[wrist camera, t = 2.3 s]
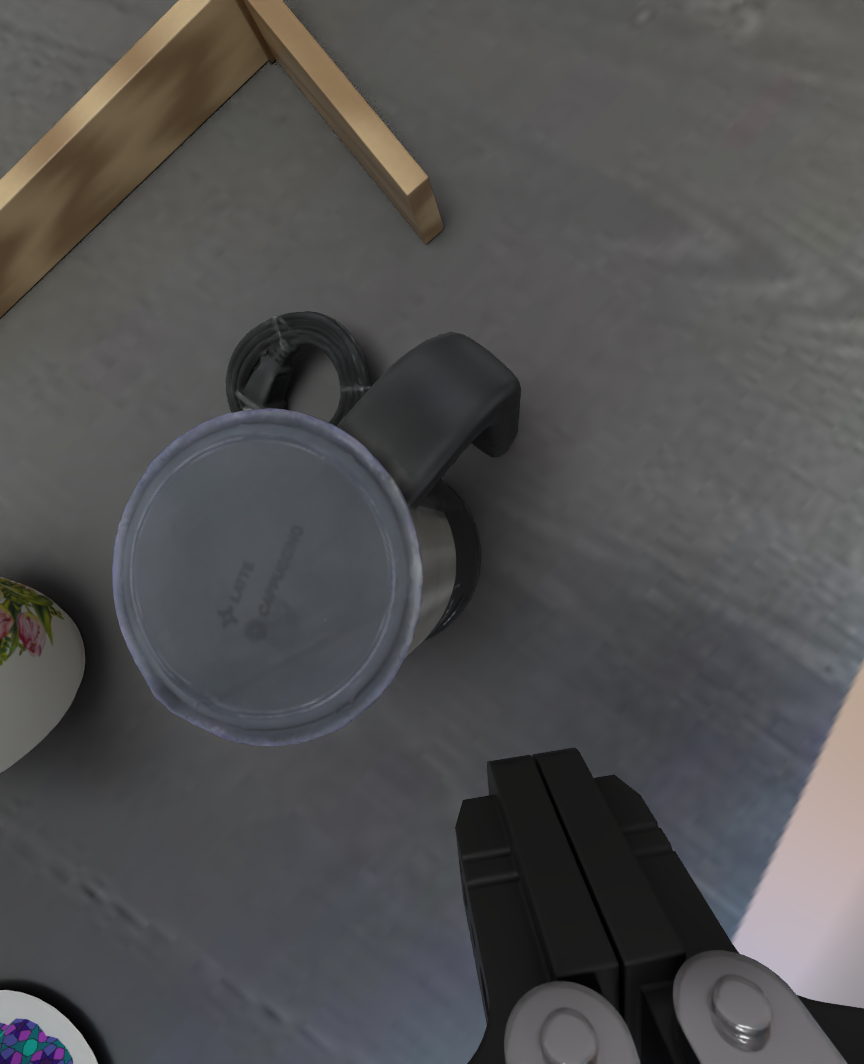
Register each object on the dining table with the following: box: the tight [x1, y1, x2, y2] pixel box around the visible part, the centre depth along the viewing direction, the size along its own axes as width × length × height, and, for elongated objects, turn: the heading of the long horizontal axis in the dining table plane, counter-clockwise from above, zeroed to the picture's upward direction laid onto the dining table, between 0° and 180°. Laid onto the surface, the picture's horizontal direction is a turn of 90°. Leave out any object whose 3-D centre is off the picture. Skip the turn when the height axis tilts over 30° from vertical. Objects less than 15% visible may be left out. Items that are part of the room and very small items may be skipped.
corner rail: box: [0, 0, 444, 318], centre depth 30 cm, size 26×15×5 cm, turn 128°
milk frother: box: [113, 311, 521, 747], centre depth 24 cm, size 14×16×15 cm
